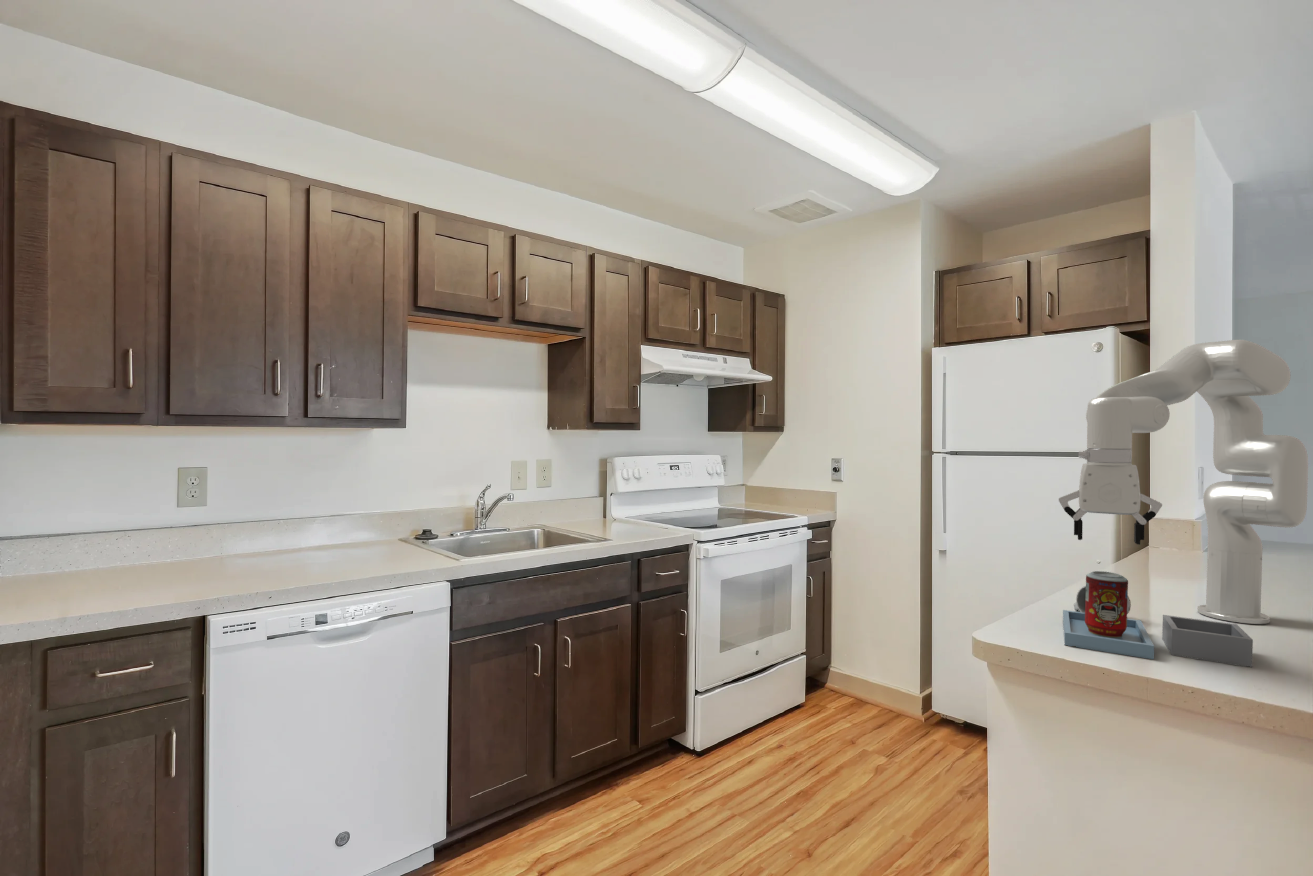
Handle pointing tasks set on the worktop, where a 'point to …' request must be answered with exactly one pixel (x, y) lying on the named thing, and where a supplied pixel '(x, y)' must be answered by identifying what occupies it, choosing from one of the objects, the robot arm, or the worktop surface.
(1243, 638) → the can holder
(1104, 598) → the soda can
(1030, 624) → the worktop surface
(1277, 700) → the worktop surface
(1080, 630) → the tray
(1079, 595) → the ceramic mug
